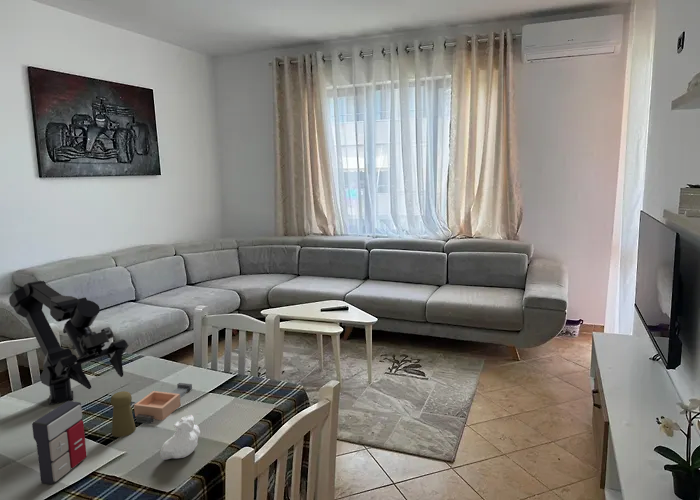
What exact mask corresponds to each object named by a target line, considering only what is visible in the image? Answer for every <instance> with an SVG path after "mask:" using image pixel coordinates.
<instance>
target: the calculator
mask: <svg viewBox="0 0 700 500" xmlns="http://www.w3.org/2000/svg"><path fill="white" fill-rule="evenodd" d="M84 424H85V423H84V421H83V410H82V404H81V402H80V401H74V400H71V401H66V402H63V403H62V404H61V405H59V406H57V407H56V408H54V409H53V410H51V411H49V412H48V413H46V414H44V415H42V416H41V417H40V418H38V419H36V420H35V421H33V422H32V424H31V428H32V436H33V439H34V441H35V443H36V449H37V450H36V451H37V458H38V466H39V467H38V468H39V477H40V482H41V483H42V484H49V485H54V484H55V483H57V481H58V480H60V479H61V478H62V477H63V476H65V475H66V474H67V473H69V472H70V471H71V470H72V469H74V468H75V467H76V466H78V464H80V463H81V462H83V460H85V459H86V458H87V457H88V456H87V446H86V437H85V436H86V435H85V425H84ZM71 468H72V469H71Z"/></svg>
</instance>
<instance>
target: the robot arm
mask: <svg viewBox="0 0 700 500" xmlns="http://www.w3.org/2000/svg"><path fill="white" fill-rule="evenodd" d="M8 302H9V305H10V307H11V308H13V310H14V311H15V313H16V314H17V315H19V316H21V317H23V318H25V319H26V321H27V324H28V326H29V327H30V329H31V331H32V333H33V335H34V337H35V339H36V341H37V343H38V345H39V346H40V349H41V351H42V353H43V355H44V359H43V364H42V365H43V366H42V368H43V371H42V372H41V374H40V376H39V378H40V381H41V382H40V383H42V384H43V385H45V386H47V387H49V389H48V390H49V397H48V404H49V406H50V405H55V404H60V403H65V402H67V401H74V390H72V383H71V382H72V381H71V380H73V381H75V382H77V383H78V384H81V385H82V386H83V387H85V388H87V389H88V390H91V388H92V384H91V383H90V380H89V379H88V377H87V376H86V374H85V372H84V370H83V368H82V364H85V363H88V362H91V361H95V360H97V359H100V358H103V357H106V356H107V358H108V359H109V358H110V360H109V362H110V364H111V365H112V367H113V368H114V370H115V372H116V373H117V375H118V376H119V377H120V378H122V377H123V376H124V368H123V355H124V353H125V352H126V350H127V349H128V347H129V344H128V342H127V340H126V339H123V338H122V339H117V340H115V341H112V342H111V343H110V344H109V345H108V347H107V348H104V347H105V345H106V344H105V343H109V342H110V340H111V339H112V338H113V337H114V333H113V331H112V329H111V327H110V326H108V327H105V328H102V329H101V330H100V332H98V333H97V332H96V331H92V329H91V326H92V325H93V323H94V322H95V321H96V318H97V317H98V316H99V313H100V309H101V308H100V306H99V304H98V303H96V302H94V301H93V300H89V299H87V297H81V298H78V297H74V296H72V295H62V294H61V293H59V292H58V291H56V290H55V289H54V288H52V287H51V286H49V285H48V284H47V283H46V281H44V280H36V281H31V282H30V281H29V282H27V283H25V284H24V285H23V286H22V287H20V288H18V289H16V290H14V291H13V292H12V293H11V295H10V296H9V298H8ZM44 306H45V307H47V308H48V309H49V314H50V316H51V317H52V319H53V320H55V321H56V322H57V323H59V322H64V321H66V323H64V327H63V329H62V333H63V334H66V335H68V338H69V340H70V341H71V343H72V346H71V349H72V350H73V351H74V350H75V351H76V353H77V355H78V357H77V355H76V354H73V352H72V350H71V349H70V348H68V347H67V348H63V347H62V346H61V344H60V343H59V340H58V339H57V337H56V334H55V332H54V331H53V329H52V327H51V325H50V323H49V321H48V318H47V317H46V315H45V312H44V311H43V307H44ZM102 348H104V349H102Z"/></svg>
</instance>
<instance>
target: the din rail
mask: <svg viewBox="0 0 700 500" xmlns="http://www.w3.org/2000/svg"><path fill="white" fill-rule="evenodd" d="M176 386H177V388H175V389H174V390H173V391H172V392H171V393H176V394H180V399H181V398H182V397H183V396H184V395H185V394H186V392H187V393H188V392H190V391H189V390H191V389H192V390H193V384H192V383H184V382H178V383H177V385H176ZM192 390H191V391H192ZM135 419H136V423H141V424H148V425H151V424H152V423H153V422H154V420H155V419H154V416H150V415H142V414H138V415H137V416H136V417H135Z"/></svg>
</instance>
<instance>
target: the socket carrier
mask: <svg viewBox="0 0 700 500" xmlns="http://www.w3.org/2000/svg"><path fill="white" fill-rule="evenodd" d="M180 407H181V398H180V394H176V393H172V392H168V391H167V392H166V391H156V390H152V391H150V392H149V393H148V394H147V395H145V396H144V397H143V398H142V399H140V400H139V401H137V402H136V403H134V405H133V408H134V409H133V410H134V417H135V418H136V416H137V415H138V414H142V415H150V416H154V420H157V421H164V420H165V419H167V418H168V417H169V416H170V415H171V414H173V412H175V411H176V410H177V409H178V408H180Z"/></svg>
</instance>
